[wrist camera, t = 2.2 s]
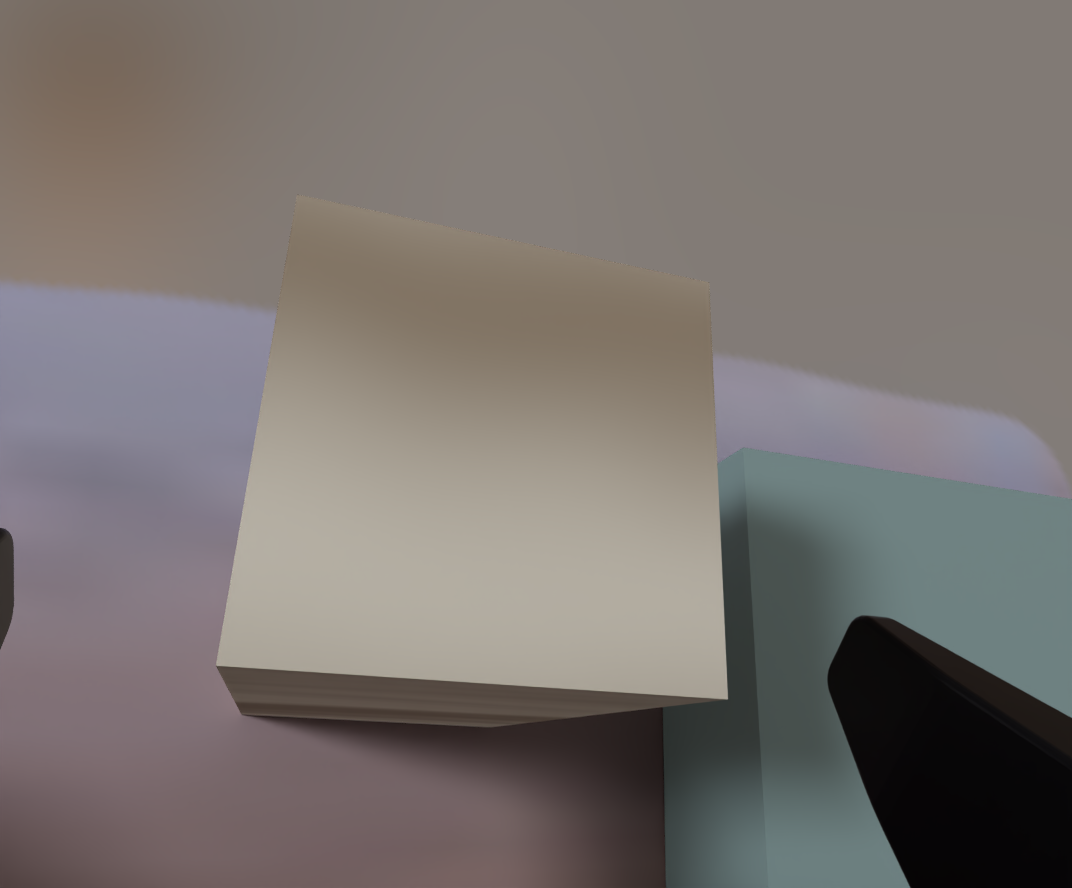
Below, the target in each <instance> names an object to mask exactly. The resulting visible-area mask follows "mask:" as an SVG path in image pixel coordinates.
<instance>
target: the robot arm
mask: <svg viewBox="0 0 1072 888" xmlns="http://www.w3.org/2000/svg"><path fill="white" fill-rule="evenodd" d="M13 607H14V547H13V540H12V536H11V534H10V533H9V532H8V531H7V530H6V529H3V528H0V649H1V646H2V644H3V642H4V639H5V637H6V634H7V632H8V629H9V626H10V623H11V619H12V614H13ZM827 684H828V689H829V693H830V695H831V698H832V701H833V703H834V706H835V709H836V712H837V714H838V717H839V720H840V722H841V725H842V728H843V731H844V733H845V736H846V739H847V741H848V744H849V747H850V750H851V752H852V755H853V758H854V760H855V763H856V766H857V769H858V771H859V774H860V777H861V779H862V782H863V785H864V787H865V790H866V793H867V795H868V798H869V800H870V803H871V805H872V808H873V810H874V812H875V814H876V817H877V819H878V821H879V823H880V825H881V828H882V830H883V832H884V834H885V836H886V838H887V840H888V842H889V844H890V847H891V849H892V851H893V853H894V855H895V857H896V859H897V861H898V863H899V866H900V868H901V870H902V872H903V874H904V876H905V878H906V880H907V882H908V884H909V887H910V888H1072V718H1071V717H1069V716H1068V715H1066V714H1064V713H1062V712H1060V711H1059V710H1057V709H1055V708H1053V707H1051V706H1050V705H1048V704H1046V703H1044V702H1042V701H1041V700H1039V699H1037V698H1035V697H1033V696H1031V695H1030V694H1028V693H1026V692H1024V691H1022V690H1021V689H1019V688H1017V687H1015V686H1013V685H1012V684H1010V683H1008V682H1006V681H1004V680H1003V679H1001V678H999V677H997V676H995V675H994V674H992V673H990V672H988V671H986V670H985V669H983V668H981V667H979V666H977V665H975V664H974V663H972V662H970V661H968V660H966V659H965V658H963V657H961V656H959V655H957V654H956V653H954V652H952V651H950V650H948V649H947V648H945V647H943V646H941V645H939V644H938V643H936V642H934V641H932V640H930V639H928V638H927V637H925V636H923V635H921V634H919V633H918V632H916V631H914V630H912V629H910V628H909V627H907V626H905V625H903V624H901V623H900V622H898V621H896V620H894V619H891V618H888V617H880V616H869V615H861V616H858V617H856V618H855V619H854V620H853V621H852V622H851V623H850V625H849V626H848V628H847V630H846V633H845V635H844V637H843V639H842V641H841V643H840V645H839V647H838V649H837V652H836V654H835V656H834V658H833V660H832V662H831V664H830V667H829V669H828V674H827Z"/></svg>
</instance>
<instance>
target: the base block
mask: <svg viewBox="0 0 1072 888" xmlns="http://www.w3.org/2000/svg"><path fill="white" fill-rule="evenodd" d="M717 468H718V490H719V512H720V534H721V557H722V579H723V601H724V623H725V645H726V667H727V689H728V699H727V700H719V701H710V702H702V703H693V704H685V705H676V706H668V707H663V748H664V804H665V861H666V888H910V887H909V884H908V882H907V880H906V878H905V876H904V874H903V872H902V870H901V868H900V866H899V863H898V861H897V859H896V857H895V855H894V853H893V851H892V849H891V847H890V844H889V842H888V840H887V838H886V836H885V834H884V832H883V830H882V828H881V825H880V823H879V821H878V819H877V817H876V814H875V812H874V810H873V808H872V805H871V803H870V800H869V798H868V795H867V793H866V790H865V787H864V785H863V782H862V779H861V777H860V774H859V771H858V769H857V766H856V763H855V760H854V758H853V755H852V752H851V750H850V747H849V744H848V741H847V739H846V736H845V733H844V731H843V728H842V725H841V722H840V720H839V717H838V714H837V712H836V709H835V706H834V703H833V701H832V698H831V695H830V693H829V689H828V684H827V674H828V669H829V667H830V664H831V662H832V660H833V658H834V656H835V654H836V652H837V649H838V647H839V645H840V643H841V641H842V639H843V637H844V635H845V633H846V630H847V628H848V626H849V625H850V623H851V622H852V621H853V620H854V619H855V618H856V617H858V616H861V615H869V616H880V617H888V618H891V619H894V620H896V621H898V622H900V623H901V624H903V625H905V626H907V627H909V628H910V629H912V630H914V631H916V632H918V633H919V634H921V635H923V636H925V637H927V638H928V639H930V640H932V641H934V642H936V643H938V644H939V645H941V646H943V647H945V648H947V649H948V650H950V651H952V652H954V653H956V654H957V655H959V656H961V657H963V658H965V659H966V660H968V661H970V662H972V663H974V664H975V665H977V666H979V667H981V668H983V669H985V670H986V671H988V672H990V673H992V674H994V675H995V676H997V677H999V678H1001V679H1003V680H1004V681H1006V682H1008V683H1010V684H1012V685H1013V686H1015V687H1017V688H1019V689H1021V690H1022V691H1024V692H1026V693H1028V694H1030V695H1031V696H1033V697H1035V698H1037V699H1039V700H1041V701H1042V702H1044V703H1046V704H1048V705H1050V706H1051V707H1053V708H1055V709H1057V710H1059V711H1060V712H1062V713H1064V714H1066V715H1068V716H1069V717H1071V718H1072V499H1068V498H1061V497H1055V496H1049V495H1042V494H1036V493H1029V492H1023V491H1017V490H1010V489H1004V488H998V487H991V486H985V485H978V484H972V483H966V482H959V481H953V480H946V479H940V478H934V477H927V476H921V475H915V474H908V473H902V472H895V471H889V470H883V469H876V468H870V467H863V466H857V465H851V464H844V463H838V462H832V461H825V460H819V459H812V458H806V457H800V456H793V455H787V454H780V453H774V452H768V451H761V450H755V449H749V448H742V449H740V450H739V451H737V452H736V453H734V454H732V455H731V456H729V457H728V458H726V459H725V460H723V461H721V462H720V463H718V464H717Z"/></svg>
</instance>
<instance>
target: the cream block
mask: <svg viewBox="0 0 1072 888" xmlns="http://www.w3.org/2000/svg"><path fill="white" fill-rule="evenodd" d="M709 293H710V292H709V282H705V281H700V280H695V279H691V278H686V277H681V276H676V275H671V274H667V273H663V272H658V271H653V270H649V269H644V268H639V267H634V266H630V265H625V264H620V263H616V262H611V261H606V260H602V259H597V258H592V257H587V256H583V255H578V254H574V253H569V252H564V251H559V250H555V249H550V248H546V247H541V246H536V245H531V244H527V243H522V242H517V241H513V240H508V239H503V238H499V237H494V236H489V235H484V234H480V233H475V232H471V231H465V230H461V229H457V228H451V227H447V226H442V225H438V224H433V223H428V222H424V221H419V220H414V219H409V218H405V217H400V216H395V215H391V214H386V213H382V212H377V211H372V210H368V209H363V208H358V207H353V206H349V205H344V204H339V203H335V202H330V201H325V200H321V199H316V198H311V197H307V196H302V195H297V199H296V205H295V211H294V216H293V222H292V228H291V234H290V239H289V246H288V252H287V257H286V263H285V268H284V275H283V280H282V286H281V292H280V297H279V303H278V309H277V315H276V321H275V326H274V332H273V338H272V344H271V350H270V355H269V361H268V367H267V373H266V379H265V384H264V390H263V396H262V402H261V408H260V413H259V419H258V425H257V431H256V437H255V442H254V448H253V454H252V460H251V466H250V471H249V477H248V483H247V489H246V495H245V500H244V506H243V512H242V518H241V524H240V529H239V535H238V541H237V547H236V553H235V558H234V564H233V570H232V576H231V582H230V587H229V593H228V599H227V605H226V611H225V616H224V622H223V628H222V634H221V640H220V645H219V651H218V657H217V663H216V667H217V669H218V670H219V672H220V674H221V676H222V678H223V680H224V682H225V684H226V686H227V688H228V690H229V691H230V693H231V695H232V697H233V699H234V701H235V703H236V705H237V707H238V709H239V710H240V712H241V714H242V715H258V716H278V717H297V718H316V719H336V720H355V721H375V722H394V723H413V724H433V725H452V726H472V727H497V726H506V725H514V724H523V723H531V722H540V721H549V720H557V719H566V718H574V717H583V716H591V715H600V714H608V713H617V712H625V711H634V710H642V709H651V708H659V707H668V706H676V705H685V704H693V703H702V702H710V701H719V700H727V699H728V689H727V667H726V645H725V623H724V601H723V579H722V557H721V534H720V512H719V490H718V468H717V446H716V424H715V402H714V379H713V357H712V335H711V313H710V294H709Z"/></svg>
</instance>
